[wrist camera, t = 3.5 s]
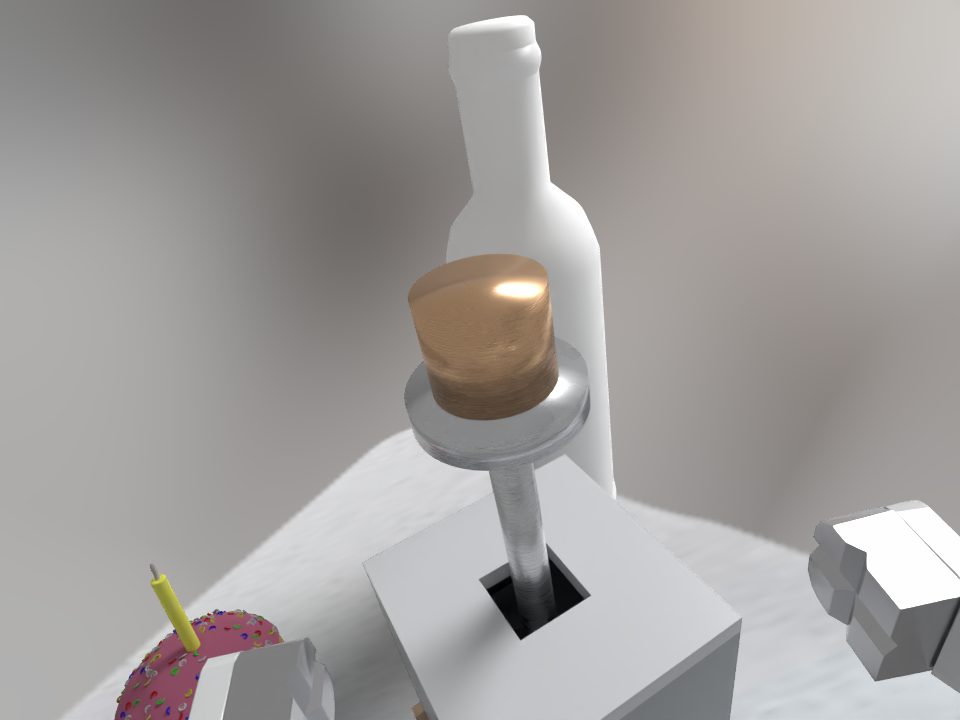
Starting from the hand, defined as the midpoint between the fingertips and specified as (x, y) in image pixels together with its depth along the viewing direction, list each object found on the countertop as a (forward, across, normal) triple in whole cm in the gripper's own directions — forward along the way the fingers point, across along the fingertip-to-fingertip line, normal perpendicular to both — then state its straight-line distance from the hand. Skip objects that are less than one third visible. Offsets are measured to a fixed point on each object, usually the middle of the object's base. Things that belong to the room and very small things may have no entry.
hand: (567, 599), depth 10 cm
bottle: (+22, -3, +24) cm, 33 cm away
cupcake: (+12, +17, +24) cm, 32 cm away
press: (+8, 0, +24) cm, 25 cm away
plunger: (+8, 0, +16) cm, 18 cm away
